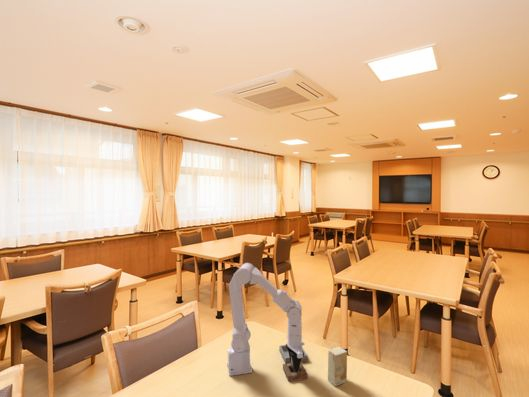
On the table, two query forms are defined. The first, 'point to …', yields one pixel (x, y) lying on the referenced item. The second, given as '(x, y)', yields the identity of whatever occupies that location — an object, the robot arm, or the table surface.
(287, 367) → the socket
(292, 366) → the pin
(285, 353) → the tray
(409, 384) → the table surface
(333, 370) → the skincare box
